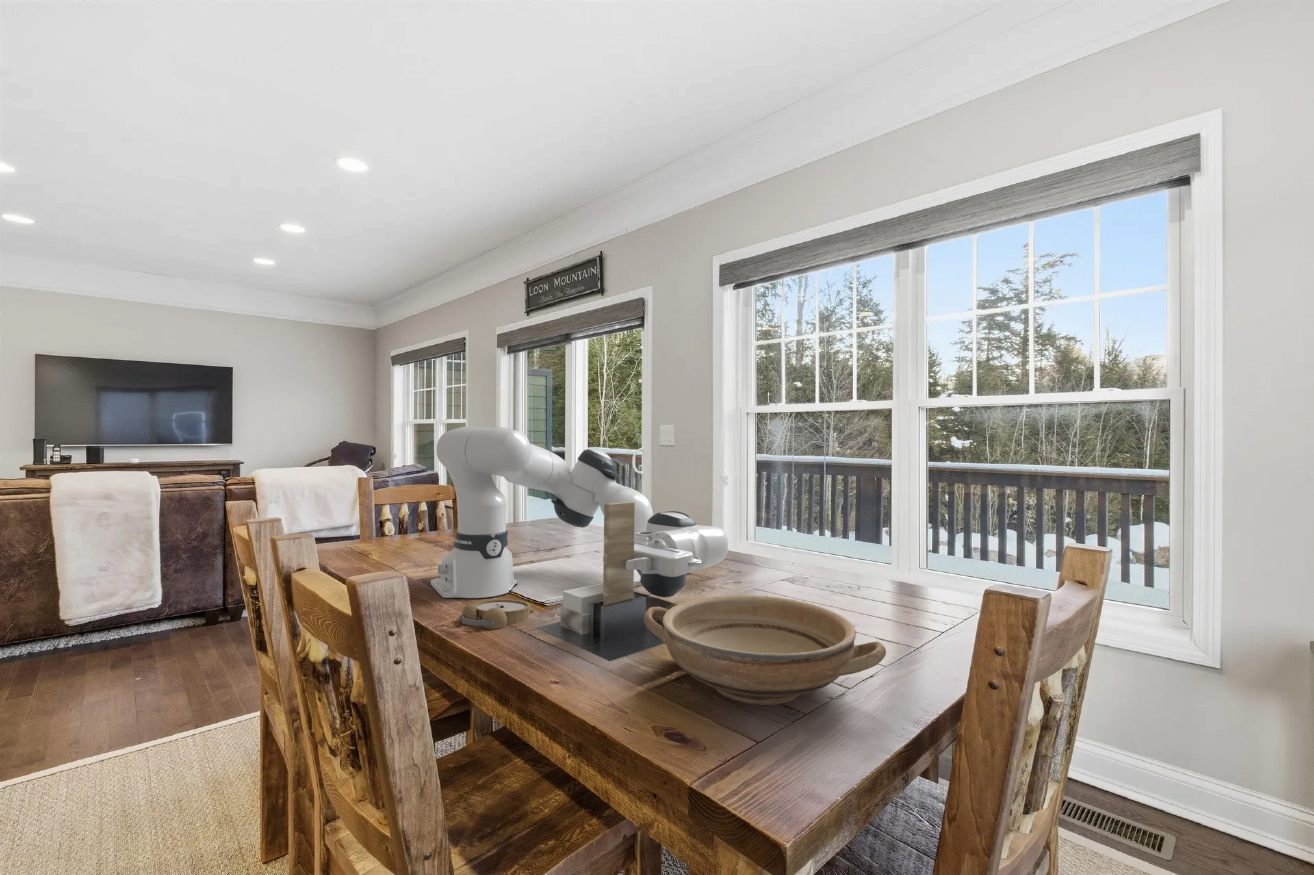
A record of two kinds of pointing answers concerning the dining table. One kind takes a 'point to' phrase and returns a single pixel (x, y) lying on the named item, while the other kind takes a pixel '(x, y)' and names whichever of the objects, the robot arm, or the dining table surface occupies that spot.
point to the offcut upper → (582, 597)
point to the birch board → (618, 551)
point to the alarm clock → (495, 613)
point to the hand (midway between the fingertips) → (615, 562)
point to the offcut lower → (575, 621)
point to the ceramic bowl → (761, 645)
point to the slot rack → (612, 629)
